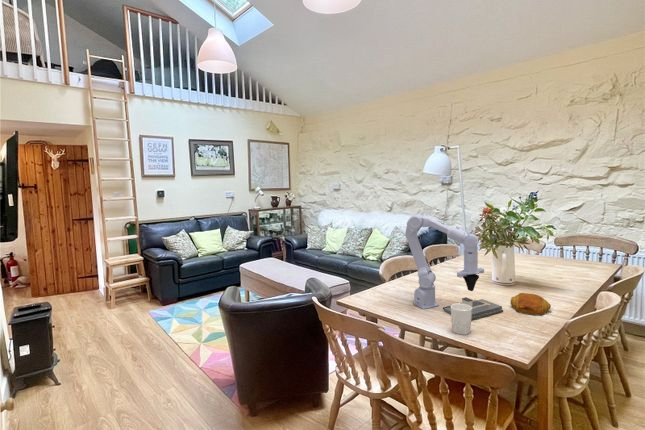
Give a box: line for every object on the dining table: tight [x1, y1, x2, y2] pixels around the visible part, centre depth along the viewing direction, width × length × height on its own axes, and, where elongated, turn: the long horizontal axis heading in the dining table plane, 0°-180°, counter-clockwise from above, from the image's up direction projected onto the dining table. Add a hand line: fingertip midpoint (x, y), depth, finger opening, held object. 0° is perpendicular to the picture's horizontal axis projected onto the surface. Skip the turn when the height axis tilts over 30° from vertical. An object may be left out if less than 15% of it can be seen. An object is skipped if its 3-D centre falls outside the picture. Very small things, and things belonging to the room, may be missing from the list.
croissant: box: [510, 292, 551, 316], centre depth 158 cm, size 14×16×8 cm
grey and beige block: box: [461, 297, 474, 307], centre depth 158 cm, size 2×4×4 cm
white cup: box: [450, 302, 473, 336], centre depth 139 cm, size 8×8×10 cm
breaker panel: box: [443, 298, 503, 318], centre depth 160 cm, size 24×11×3 cm, turn 114°
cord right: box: [471, 309, 504, 322], centre depth 153 cm, size 20×1×1 cm, turn 114°
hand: (470, 290), depth 159 cm, fingers closed
